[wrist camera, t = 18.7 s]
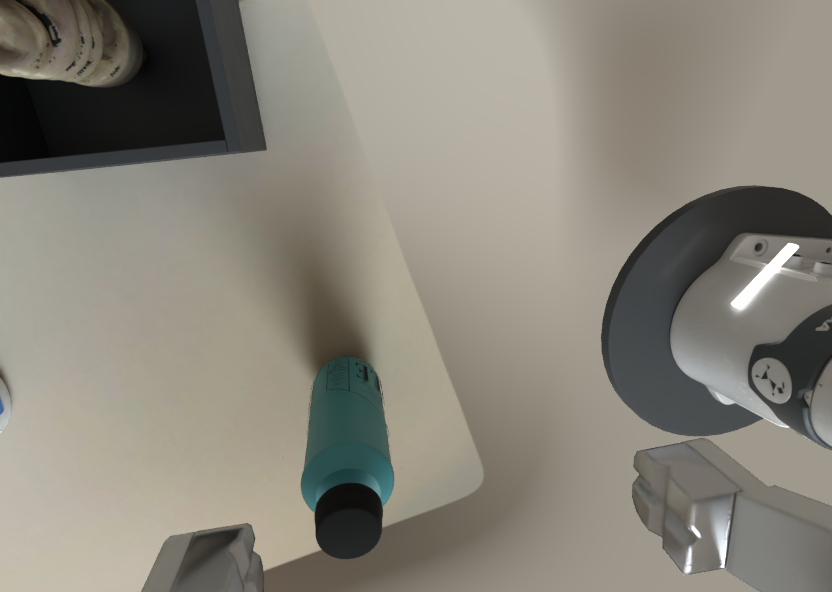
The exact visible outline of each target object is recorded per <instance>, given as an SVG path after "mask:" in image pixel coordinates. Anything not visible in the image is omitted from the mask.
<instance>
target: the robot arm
mask: <svg viewBox="0 0 832 592" xmlns="http://www.w3.org/2000/svg"><path fill="white" fill-rule="evenodd" d="M756 245H757V246H756ZM755 246H756V248H755ZM670 345H671V351H672V354H673V357H674V359H675V361H676V363H677V365H678V366H679V368H680V369H681V370H682V371H683V372H684V373H685V374H686V375H688V376H689V377H690V378H692V379H694V380H696V381H698V382H700V383H702V384H704V385H705V386H706V387H707V388H708V390H709V392H710V393H711V395H712V396H713V397H714V398H715V399H716V400H718V401H719V402H721V403H723V404H726V405H730V404H733V403H737V404H738V405H740V406H742V407H744V408H746V409H748V410H750V411H751V412H753V413H755V414H757V415H759V416H761V417H763V418H765V419H767V420H769V421H770V422H773V423H774V424H776V425H778V426H781V427H791V428H792V429H794V430H795V431H796V433H798V434H799V435H801V436H803V437H804V438H806V439H808V440H810V441H814V442H815V443H817V444H819V445H821V446H822V447H824V448H827V449H830V450H832V239H825V238H812V237H799V236H786V235H773V234H760V233H741V234H739V235H738V236H736V237H735V238H734V239H733V241H732V242H731V243H730V244H729V246H728V247H727V249H726V250H725V252H724V253H723V255H722V256H721V258H720V259H719V260H718V261H717V262H716V263H715V264H714V265H713V266H711V267H710V268H709V269H707V270H706V271H705V272H704V273H702V274H701V275H700V276H699V277H698V278H697V279H696V280H695V281H694V282H693V283H692V284H691V286H690V287H689V288H688V289H687V291H686V292H685V294H684V295H683V297H682V298H681V300H680V302H679V304H678V306H677V308H676V310H675V313H674V316H673V319H672V323H671V330H670ZM634 468H635V470H636V471H637V472H638V473H639V476H638V477H637V479H636V480H635V481H634V483H633V485H632V486H633V487H632V498H633V502H634V505H635V509H636V511H637V513H638V515H639V517H640V519H641V521H642V522H643V523H644V525H645V526H646V527H647V529H648V530H649V531H651V532H653V533H655V534H657V535H659V536H661V537H662V538H663V549H664V550H665V551H666V553H667V554H668V555H669V557H670V558H671V559H672V560H673V562H674V563H675V564H676V565H677V567H678V568H679V569H680V570H681V572H682V573H683V574H684V575H690V574H696V573H701V572H706V571H712V570H718V569H723V568H726V571H727V572H729V573H731V574H732V575H734V576H736V577H737V578H739V579H740V580H742V581H743V582H745V583H747V584H748V585H750V586H752V587H753V588H755V589H756V590H758V591H760V592H832V506H830V505H827V504H825V503H822V502H819V501H817V500H814V499H811V498H808V497H805V496H803V495H800V494H797V493H794V492H791V491H789V490H786V489H783V488H781V487H778V486H775V485H774V486H769V487H768V486H766V485H765V484H764V483H763V482H761V481H760V480H759V479H758V478H756V477H755V476H754V475H753V474H751V473H750V472H749V471H748V470H747V469H745V468H744V467H743V466H741V465H740V464H739V463H738V462H737V461H735V460H734V459H733V458H731V457H730V456H729V455H728V454H727V453H725V452H724V451H723V450H722V449H720V448H719V447H718V446H717V445H715V444H714V443H713V442H712V441H710V440H708V439H705V438H699V439H695V440H689V441H685V442H681V443H677V444H672V445H666V446H661V447H656V448H651V449H646V450H640V451H637V452H636V454H635V456H634ZM254 542H255V535H254V532H253V529H252V526H251V525H250V524H248V523H245V524H239V525H233V526H226V527H220V528H214V529H208V530H201V531H197V532H192V533H186V534H180V535H174V536H170V537H169V538H168V539H167V540H166V541H165V542H164V543H163V546H162V548H161V550H160V552H159V554H158V556H157V558H156V561H155V563H154V565H153V567H152V569H151V571H150V574H149V576H148V578H147V580H146V582H145V584H144V587H143V589H142V591H141V592H264V574H263V565H262V561H261V557H260V555H258V554H257V553H255V552H254V551H253V547H254Z"/></svg>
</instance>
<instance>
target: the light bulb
mask: <svg viewBox="0 0 832 592" xmlns="http://www.w3.org/2000/svg"><path fill="white" fill-rule="evenodd" d="M147 57H148V53H147V50H146V48H145V46H144V44H143V43H142V41H141V38H140V35H139V33H138V31H137V29H136V27H135V26H134V24H133V23H132V22H131V20H130V19H129V18H128V17H127V16H126V15H125V14H124V13H123V12H122V11H121V10H119V9H118V8H117V7H115V6H114V5H112V4H111V3H110V2H108V1H107V0H0V74H2V75H6V76H12V77H23V78H28V79H47V80H62V81H66V82H75V83H77V84H81V85H85V86H90V87H101V88H111V87H116V86H120V85H123V84H125V83H127V82H129V81H130V80H131V79H132V78H133V77H134V76H135V75H136V74H137V73H140V72H141V71H142V70H143V69H144V67H145V66H146V64H147Z"/></svg>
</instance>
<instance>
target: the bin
mask: <svg viewBox="0 0 832 592" xmlns="http://www.w3.org/2000/svg"><path fill="white" fill-rule="evenodd" d="M107 1H108V2H110V3H111V4H112V5H114V6H115V7H117V8H118V9H119V10H121V11H122V12H123V13H124V14H125V15H126V16H127V17H128V18H129V19H130V20H131V22H132V23H133V24H134V26H135V27H136V29H137V31H138V33H139V35H140V38H141V41H142V43H143V44H144V46H145V48H146V50H147V53H148V57H147V64H146V66H145V67H144V69H143V70H142V71H141V72H140V73H137V74H136V75H135V76H134V77H133V78H132V79H131V80H130V81H129V82H127V83H125V84H123V85H120V86H116V87H111V88H101V87H90V86H85V85H81V84H77V83H75V82H66V81H62V80H47V79H28V78H23V77H12V76H6V75H2V74H0V178H1V177H12V176H23V175H33V174H44V173H55V172H64V171H74V170H83V169H93V168H102V167H112V166H121V165H131V164H140V163H150V162H159V161H169V160H178V159H188V158H197V157H207V156H216V155H226V154H235V153H245V152H254V151H264V150H267V149H266V144H265V139H264V133H263V128H262V123H261V118H260V113H259V107H258V102H257V97H256V92H255V87H254V81H253V76H252V71H251V66H250V61H249V55H248V50H247V45H246V40H245V35H244V29H243V24H242V19H241V14H240V9H239V4H238V0H107Z"/></svg>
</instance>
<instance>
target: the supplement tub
mask: <svg viewBox="0 0 832 592" xmlns="http://www.w3.org/2000/svg"><path fill="white" fill-rule="evenodd" d="M11 408H12V405H11V399H10V395H9V392H8V390H7V387H6V385H5V384H4V382H3V380H2V379H1V378H0V433H1V432H2V430H3V429H4V428H5V426H6V425H7V423H8V421H9V418H10V415H11Z"/></svg>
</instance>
